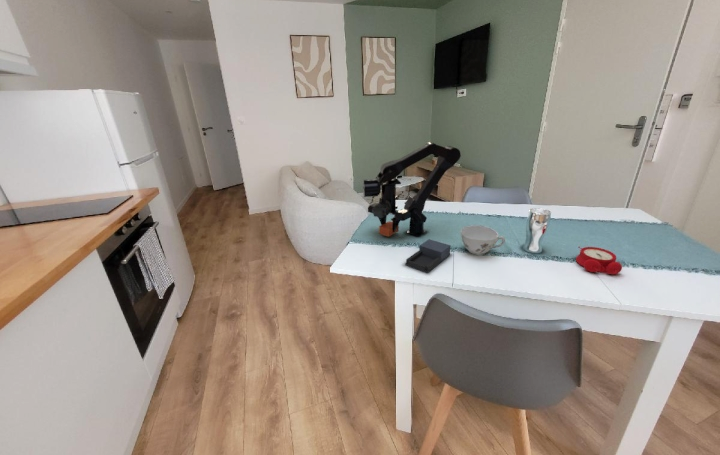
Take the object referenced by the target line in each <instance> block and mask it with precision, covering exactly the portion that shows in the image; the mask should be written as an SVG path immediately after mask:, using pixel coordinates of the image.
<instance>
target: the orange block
mask: <svg viewBox="0 0 720 455" xmlns="http://www.w3.org/2000/svg"><path fill="white" fill-rule="evenodd" d="M399 224H400V223H399ZM399 224H398V226H397V228H396V231H395V232H393V221H389V220H388V221H386V223H385V224H383V225H381V224H380V225H378V234H379V235H382V236H385V237H391V236H393V235H394V234H397V233H398V232H399V227H400V226H399Z"/></svg>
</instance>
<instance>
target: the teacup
mask: <svg viewBox="0 0 720 455" xmlns="http://www.w3.org/2000/svg"><path fill="white" fill-rule="evenodd" d="M460 238H461V242H462V243H463V245H464V247H465V249H466V250H467V251H468V252H469V253H470V254H471V255H472V254H473V255H475V256H482V255H485V254H486V253H488V252H490V251H491V250H492V249H496V248H501V247H502V246H503V245H505V242H506V238H505V237H504V236H502V235H501V236H500V235H499V233H498V232H497V231H496V230H495V229H493V228H491V227H488V226H485V225H480V224H479V225H475V224H473V225H468V226H464V227H462V228H461V229H460ZM499 240H501V241H502V242H501V243H500V244H497V245H496V243H497V242H498V241H499Z"/></svg>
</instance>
